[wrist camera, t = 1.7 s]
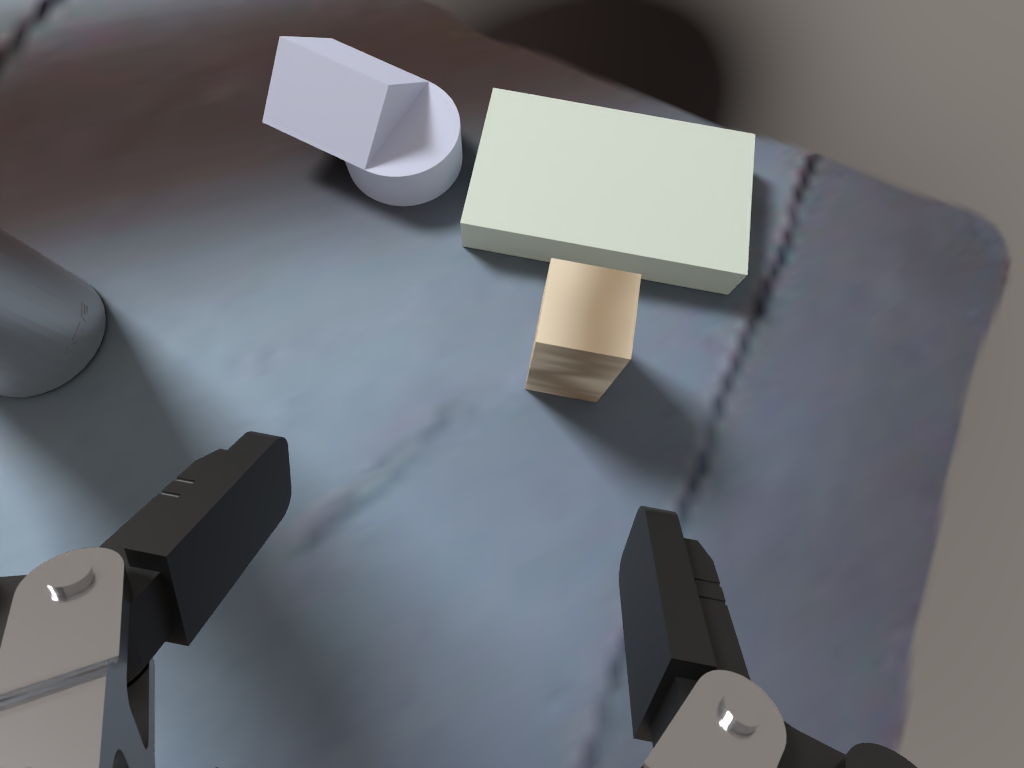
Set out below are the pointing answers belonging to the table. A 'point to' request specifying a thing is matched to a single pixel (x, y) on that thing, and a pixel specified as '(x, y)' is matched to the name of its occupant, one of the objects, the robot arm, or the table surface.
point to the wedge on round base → (367, 118)
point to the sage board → (612, 191)
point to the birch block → (583, 330)
